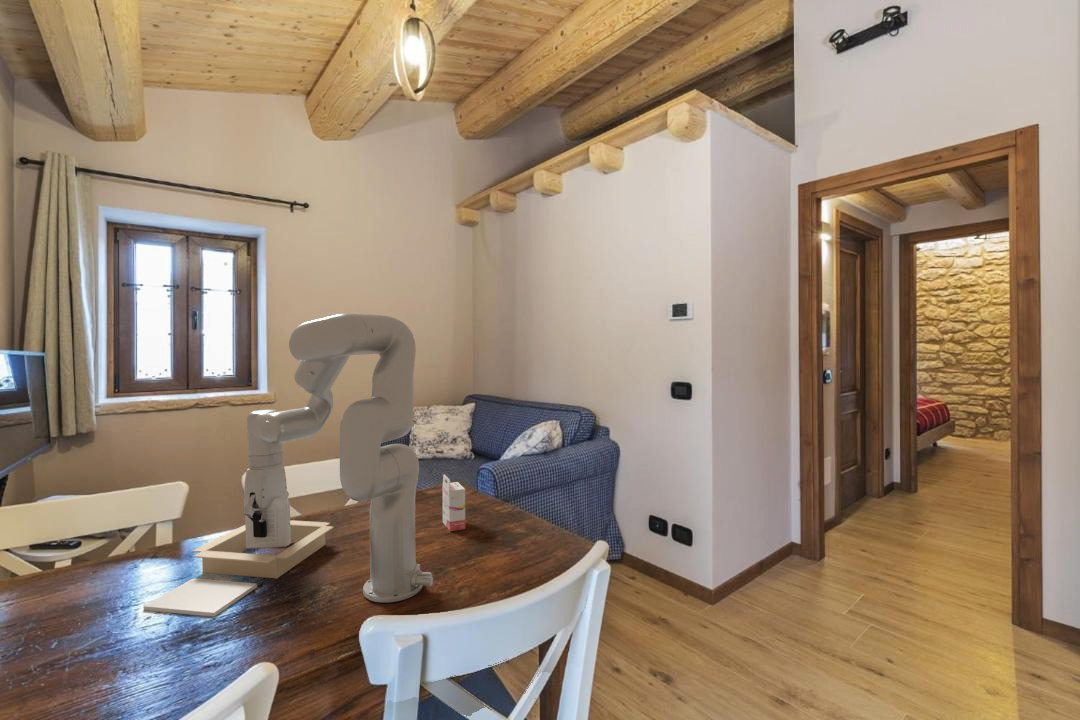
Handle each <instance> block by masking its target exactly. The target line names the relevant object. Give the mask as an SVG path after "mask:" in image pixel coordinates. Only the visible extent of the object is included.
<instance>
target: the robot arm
mask: <svg viewBox="0 0 1080 720" xmlns="http://www.w3.org/2000/svg"><path fill="white" fill-rule="evenodd" d="M288 348H289V352H290V354H291V355H292V356H293V358H294V359H295V360H297V361H299V362H300V363H299V365H298V367H297V368H296V370H295V371H294V376H293V377H294V379H293V380H294V382H295V383H296V385H298V386H299V388H301V389H302V390H303V391H305V392H306V393H308V394H311V396H310V398H309V399H308V401H307V402H306V404H305V405H304V407H301V408H294V409H288V410H287V409H286V410H283V411H279V410H277V409H260V410H253V411H251V412H249V413H248V414H247V416H246V430H247V434H246V436H247V456H248V458H247V460H248V468H247V469H246V473H245V477H244V490H243V491H244V492H243V494H244V495H243V504H244V505H243V506H244V510H243V515H244V516H245V515H246V516H248V517H249V518H250V519H251V522H253V535H254V537H260V538H265V537H266V536H267V524H266V521H264V518H265V512H266V508H268V507H270V506H271V504H272V502H273V500H274V499H275V498H276V497H277V498H278V497H284V498H287V499H289V496H290V493H289V491H288V490H287V489H288V488H287V485H288V484H287V477H286V476H287V475H286V469H285V464H284V458H283V457H284V455H283V444H286V443H289V442H293V441H297V440H302V439H307V438H310V437H311V438H312V437H313V436H315V435H316V434H318V433H319V432H320V431H321V430H322V428H323V427H324V425H325V424H326V422H327V421H328V419H329V418H330V416H331V414H332V412H333V407H334V396H333V392H332V389H331V388H332V387H333V385H334V383H335V382H336V380H337V378H338V377H339V375H340V373H341V372H342V370H343V368H344V367H345V365H347V364H346V363H347V362H348V361H349V358H350V357H351V356H355V355H356V356H358V355H379V359H378V361H377V362H376V364H375V366H374V369H373V373H372V377H371V380H372V381H371V382H372V383H371V384H372V385H371V386H372V387H371V388H372V389H371V397H370V398H364V399H360V400H359V399H358V400H357V401H355V402H353V403H350V405H349V406H347V408H346V409H345V411H344V412H343V414H342V416H341V420H340V425H339V480H340V484H341V487H342V488H341V489H343V492H344V494H345V495H346V496H347V497H348V498H349V499H350V500H352V501H354V502H366V501H370V500H371V501H370V506H369V564H370V565H369V571H370V576H369V579H368V580H366V581H365V583H364V585H362V593H363V596H364V597H365V598H366V599H367V600H369V601H371V602H375V603H395V602H400V601H405V600H408V599H409V598H411V597H413V596H416V595H417V594H419V592H421V590H422V589H423V587H432V586H433V584H434V583H433V582H434V577H433V576H432V575H433V574H432V572H430V571H425V572H424V571H422V570H421V564H420V563H417V562H416V559H417V558H416V494H417V492H416V491H417V486H418V480H419V474H420V463H419V462H420V461H419V458H418V455H417V453H416V451H415V450H414V449H413V448H412V447H410V446H408V445H407V444H403V443H391V444H387V445H383V446H381V445H382V444H384V443H387V442H390V441H394V440H397V439H400V438H402V437H404V436H406V435H408V434H409V432H410V431H411V430H412V427H413V422H414V373H415V364H416V363H415V362H416V352H417V351H416V350H417V349H416V348H417V347H416V341H415V337H414V334H413V332H412V331H411V329H410V328H409V326H408V325H406V324H405V322H403V321H401V320H400V319H397V318H395V317H393V316H389V315H388V316H387V315H382V314H380V315H379V314H362V313H340V314H339V313H338V314H335V315H331V316H330V315H329V316H326V317H322V318H317V319H314V320H311V321H310V320H309V321H305V322H303V323H301V324H299V325H298V326H296V327H295V328H294V330H293V331H292V332H291V334H290V337H289V341H288ZM257 506H259V508H257ZM257 511H260V515H259V514H258V513H257Z"/></svg>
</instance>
